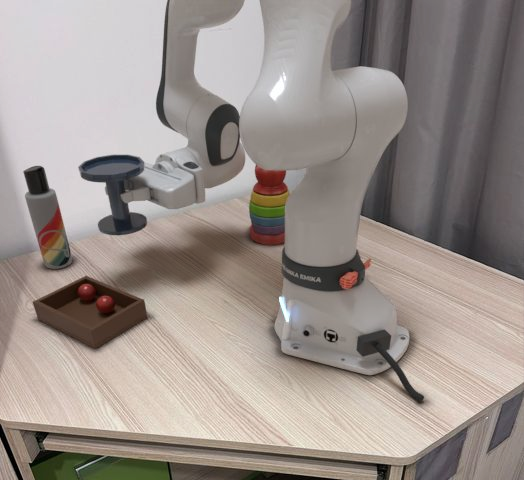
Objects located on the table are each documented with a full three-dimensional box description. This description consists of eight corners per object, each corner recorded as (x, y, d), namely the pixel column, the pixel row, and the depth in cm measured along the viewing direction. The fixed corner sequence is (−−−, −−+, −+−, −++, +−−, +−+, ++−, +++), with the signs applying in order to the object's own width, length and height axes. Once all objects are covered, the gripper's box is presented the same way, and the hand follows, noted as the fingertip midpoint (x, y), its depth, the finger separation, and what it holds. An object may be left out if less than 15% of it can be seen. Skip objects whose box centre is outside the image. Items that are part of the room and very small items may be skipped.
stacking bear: (298, 228, 125) (300, 150, 114) (289, 247, 117) (290, 164, 106) (253, 225, 127) (251, 147, 116) (242, 243, 119) (238, 161, 109)
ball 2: (115, 315, 94) (103, 318, 96) (120, 300, 95) (108, 302, 97) (102, 307, 92) (89, 309, 94) (107, 291, 93) (95, 293, 95)
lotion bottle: (64, 270, 110) (38, 172, 98) (39, 268, 111) (10, 171, 99) (77, 258, 114) (54, 163, 103) (53, 256, 115) (27, 161, 104)
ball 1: (98, 296, 97) (82, 305, 97) (100, 295, 100) (85, 303, 100) (88, 281, 96) (72, 289, 96) (91, 279, 99) (75, 288, 99)
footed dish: (164, 221, 101) (156, 160, 95) (121, 243, 94) (109, 179, 88) (124, 209, 107) (113, 151, 100) (80, 229, 99) (65, 167, 93)
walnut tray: (147, 317, 95) (144, 299, 93) (95, 348, 88) (91, 330, 85) (90, 292, 103) (86, 275, 101) (37, 319, 95) (32, 301, 93)
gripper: (141, 148, 108) (80, 165, 101) (208, 170, 97) (145, 190, 89) (145, 179, 112) (87, 198, 104) (210, 204, 101) (150, 226, 93)
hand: (114, 195), depth 97 cm, fingers closed on footed dish, 3 cm apart
